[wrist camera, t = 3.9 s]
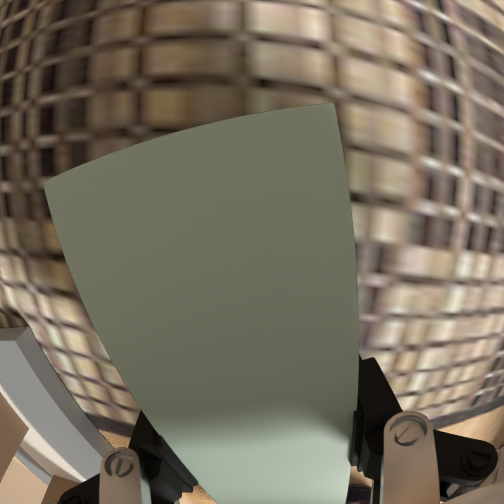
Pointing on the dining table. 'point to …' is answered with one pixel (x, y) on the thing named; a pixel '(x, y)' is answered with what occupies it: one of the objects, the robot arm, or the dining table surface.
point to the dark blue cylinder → (358, 494)
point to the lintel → (228, 296)
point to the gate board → (43, 419)
